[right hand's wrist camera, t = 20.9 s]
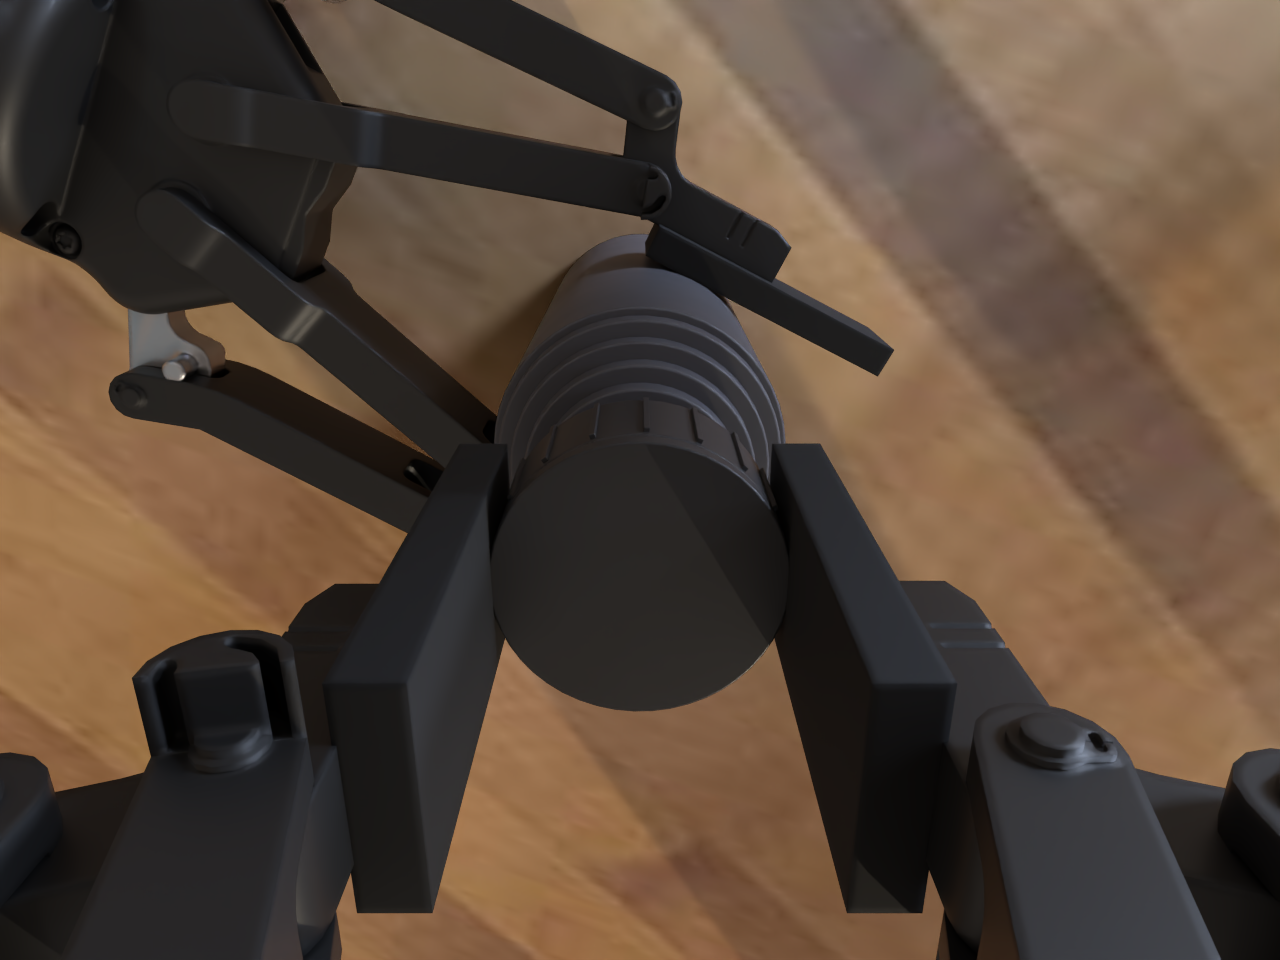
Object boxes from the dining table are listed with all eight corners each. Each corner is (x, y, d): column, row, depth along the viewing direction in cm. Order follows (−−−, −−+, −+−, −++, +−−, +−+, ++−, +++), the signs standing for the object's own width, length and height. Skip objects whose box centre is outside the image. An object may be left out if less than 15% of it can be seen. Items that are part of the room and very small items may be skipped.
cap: (506, 637, 15) (488, 710, 13) (504, 388, 14) (482, 430, 12) (760, 646, 15) (777, 721, 13) (786, 400, 14) (810, 445, 12)
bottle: (749, 376, 30) (878, 666, 14) (588, 431, 31) (531, 769, 14) (695, 207, 28) (772, 314, 12) (525, 270, 29) (376, 452, 12)
